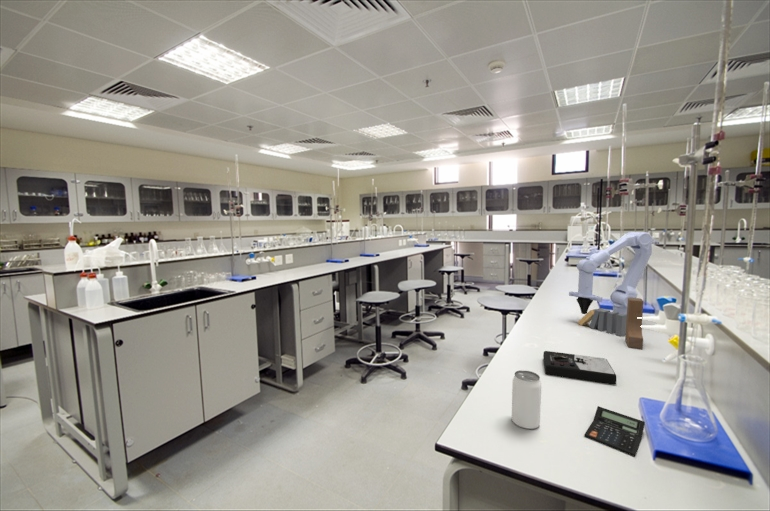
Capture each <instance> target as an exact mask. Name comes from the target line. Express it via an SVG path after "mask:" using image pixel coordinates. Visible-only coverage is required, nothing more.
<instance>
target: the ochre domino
mask: <svg viewBox="0 0 770 511" xmlns="http://www.w3.org/2000/svg"><path fill="white" fill-rule="evenodd" d="M595 309H596V308H595ZM595 309H590V310H588V311H587V314H584V315H583V316H582V317H581V319H579V320H578V321H577V324H579V325H580V326H584V324H585V325H588V324H590V323H591V320H592V317H593V314H594V311H595Z"/></svg>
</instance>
